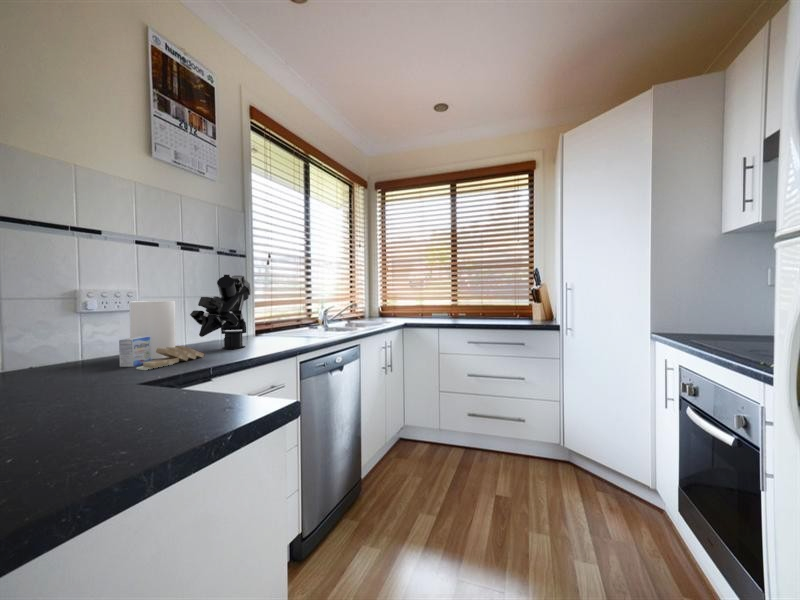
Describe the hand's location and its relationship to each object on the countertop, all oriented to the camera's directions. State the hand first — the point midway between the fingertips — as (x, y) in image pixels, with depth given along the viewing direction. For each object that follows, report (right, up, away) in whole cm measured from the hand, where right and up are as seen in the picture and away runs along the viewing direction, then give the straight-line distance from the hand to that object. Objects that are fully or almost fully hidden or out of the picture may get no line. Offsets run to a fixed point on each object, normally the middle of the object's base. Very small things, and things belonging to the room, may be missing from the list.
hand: (200, 336), depth 127 cm
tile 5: (-4, -8, -11) cm, 14 cm away
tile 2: (-1, -7, -3) cm, 8 cm away
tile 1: (-1, -7, 0) cm, 7 cm away
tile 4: (-3, -7, -10) cm, 12 cm away
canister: (-18, -8, +3) cm, 20 cm away
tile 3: (-2, -7, -6) cm, 10 cm away
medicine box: (-14, -8, -12) cm, 20 cm away
